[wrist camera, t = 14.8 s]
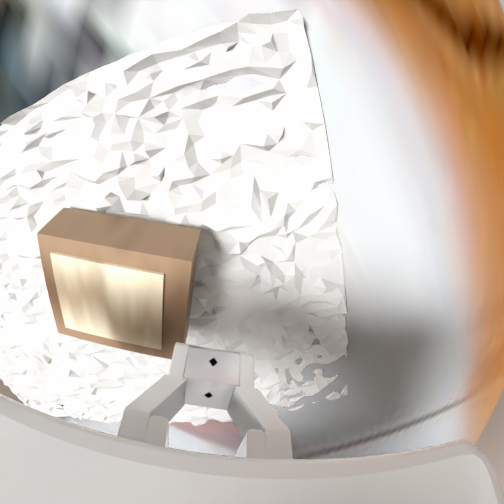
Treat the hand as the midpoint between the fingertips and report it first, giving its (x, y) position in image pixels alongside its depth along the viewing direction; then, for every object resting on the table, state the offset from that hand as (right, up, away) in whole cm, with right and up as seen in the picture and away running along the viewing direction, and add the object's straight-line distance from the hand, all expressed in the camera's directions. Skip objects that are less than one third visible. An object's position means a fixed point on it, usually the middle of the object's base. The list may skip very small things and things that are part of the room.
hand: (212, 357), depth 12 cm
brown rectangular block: (-2, +2, +5) cm, 6 cm away
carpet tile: (-12, -1, +11) cm, 16 cm away
